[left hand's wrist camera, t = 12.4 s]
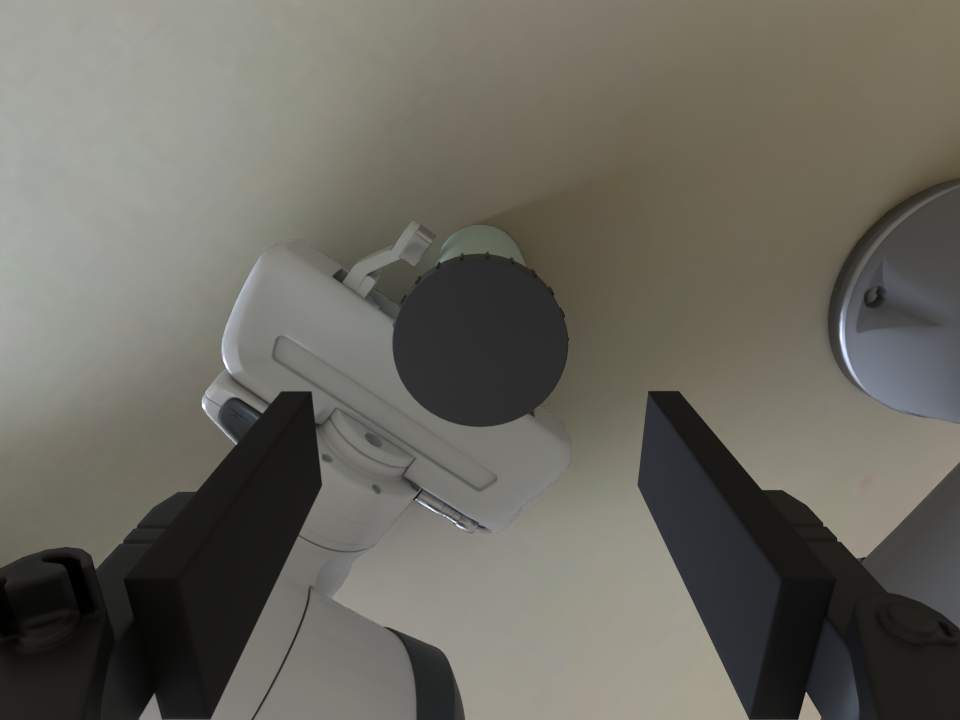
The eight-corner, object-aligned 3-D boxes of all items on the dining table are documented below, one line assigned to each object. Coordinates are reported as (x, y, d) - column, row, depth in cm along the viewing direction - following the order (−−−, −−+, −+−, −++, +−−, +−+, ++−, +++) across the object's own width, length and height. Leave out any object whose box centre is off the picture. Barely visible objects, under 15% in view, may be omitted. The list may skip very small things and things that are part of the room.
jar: (462, 207, 34) (450, 245, 20) (539, 252, 35) (580, 318, 21) (421, 285, 36) (383, 370, 22) (496, 325, 37) (506, 432, 23)
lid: (444, 218, 21) (442, 223, 19) (597, 305, 22) (605, 315, 21) (367, 365, 23) (359, 379, 21) (510, 437, 24) (512, 456, 23)
